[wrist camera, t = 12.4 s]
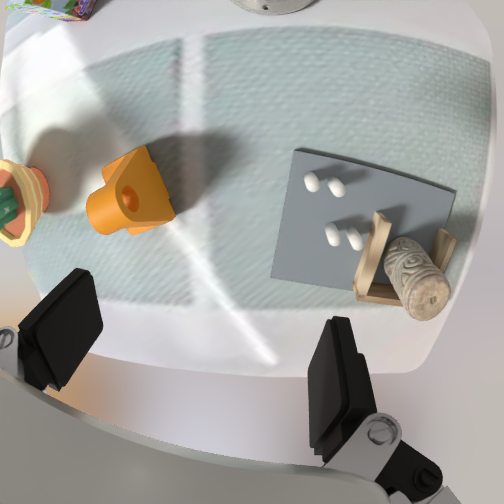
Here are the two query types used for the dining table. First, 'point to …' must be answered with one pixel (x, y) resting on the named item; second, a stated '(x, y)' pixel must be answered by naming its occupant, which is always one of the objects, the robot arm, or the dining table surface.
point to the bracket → (130, 196)
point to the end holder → (372, 254)
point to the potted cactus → (20, 201)
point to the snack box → (55, 8)
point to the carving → (416, 279)
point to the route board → (349, 218)
